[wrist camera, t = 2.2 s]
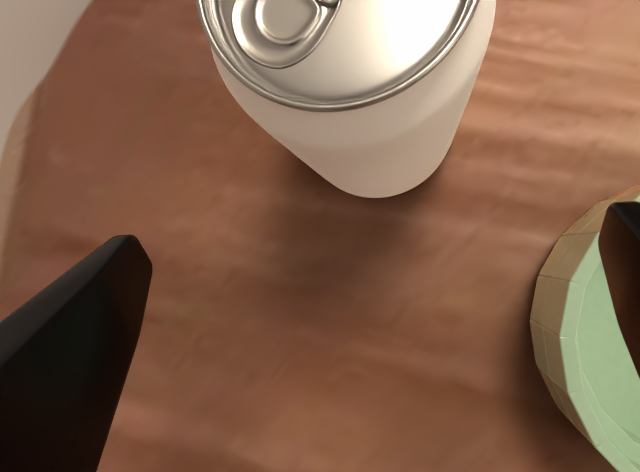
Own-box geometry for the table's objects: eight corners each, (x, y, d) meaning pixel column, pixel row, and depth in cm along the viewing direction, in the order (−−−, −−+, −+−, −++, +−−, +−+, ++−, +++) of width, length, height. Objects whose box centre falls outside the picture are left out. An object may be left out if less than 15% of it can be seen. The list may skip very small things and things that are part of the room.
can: (276, 115, 22) (114, -46, 10) (392, 20, 21) (368, -280, 9) (361, 230, 21) (297, 203, 9) (486, 136, 20) (597, -29, 8)
